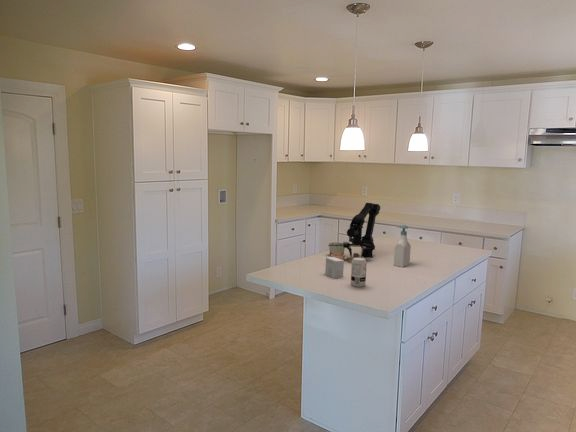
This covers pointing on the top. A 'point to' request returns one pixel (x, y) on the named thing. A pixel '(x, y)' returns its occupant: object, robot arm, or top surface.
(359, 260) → the supplement can
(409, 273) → the top surface
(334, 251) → the food container
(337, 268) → the skincare box
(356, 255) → the walnut lid
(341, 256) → the terracotta bowl
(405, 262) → the soap bottle
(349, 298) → the top surface
